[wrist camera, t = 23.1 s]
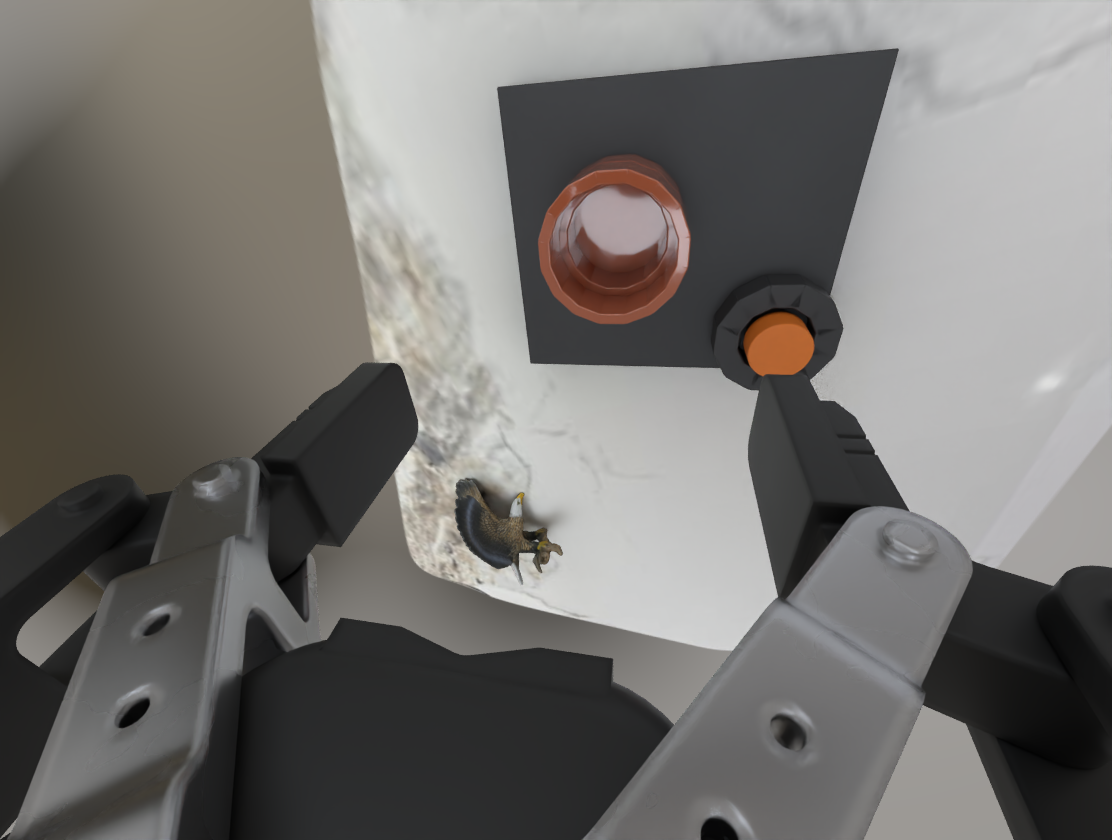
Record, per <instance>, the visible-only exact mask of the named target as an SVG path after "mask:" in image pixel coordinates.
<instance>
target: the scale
mask: <svg viewBox="0 0 1112 840" xmlns="http://www.w3.org/2000/svg"><path fill="white" fill-rule="evenodd" d="M898 51H899V49H887V50H877V51H866V52H856V53H846V54H835V55H825V56H814V57H804V58H794V59H783V60H773V61H763V62H752V63H742V64H732V65H721V66H711V67H701V68H690V69H680V70H669V71H659V72H649V73H638V74H628V75H618V76H607V77H597V78H587V79H576V80H566V81H556V82H545V83H535V84H524V85H514V86H504V87H498V88H497V90H498V98H499V106H500V114H501V123H502V131H503V139H504V147H505V156H506V164H507V172H508V180H509V189H510V197H511V205H512V214H513V222H514V230H515V238H516V247H517V255H518V263H519V271H520V280H521V288H522V296H523V304H524V313H525V321H526V329H527V337H528V346H529V354H530V362H531V363H534V364H575V365H617V366H659V367H701V368H721V370H722V372H723V374H724V375H725V376H726V378H728V379H730V380H732V381H734V382H736V383H737V384H739V385H741V386H743V387H745V388H747V389H750V390H759V389H760V384H761V381H762V378H763V376H761V375H759V374H757V373H756V372H755V371H754V370H753V369H752V368H751V367H750V365H749V363H748V360H747V356H746V353H745V350H744V346H743V341H744V336H745V333H746V331H747V329H748V328H749V327H750V325H751V324H752V323H753V322H754V321H756V320H757V319H758V318H760V317H762V316H764V315H766V314H769V313H773V312H788V313H792V314H794V315H796V316H798V317H799V318H800V319H801V320H802V321H803V322H804V324H805V325H806V327H807V329H808V330H809V332H810V334H811V336H812V338H813V340H814V352H813V355H812V357H811V359H810V361H809V362H808V364H807V365H806V366H805V367H804V368H803V369H801V370H800V371H799V372H797V373H795V374H793V375H806V376H807V377H808V378H809V380H810V379H812V378H813V377H814V376H815V375H816V374H817V373H818V372H819V371H820V370H821V369H822V368H823V367H824V366H825V365H826V364H827V363H828V362H829V361H830V360H832V359H833V358H834V356H835V354H836V351H837V347H838V344H839V341H840V338H841V335H842V331H843V324H842V322H841V319H840V316H839V313H838V311H837V308H836V305H835V303H834V301H833V300H832V298H831V297H830V293H831V289H832V286H833V282H834V279H835V275H836V271H837V268H838V264H839V261H840V257H841V254H842V250H843V246H844V243H845V239H846V236H847V232H848V229H849V225H850V222H851V218H852V214H853V211H854V207H855V204H856V200H857V197H858V193H859V189H860V186H861V182H862V179H863V175H864V172H865V168H866V165H867V161H868V157H869V154H870V150H871V147H872V143H873V140H874V136H875V132H876V129H877V125H878V122H879V118H880V115H881V111H882V108H883V104H884V100H885V97H886V93H887V90H888V86H889V83H890V79H891V75H892V72H893V68H894V65H895V61H896V58H897V54H898ZM628 154H633V155H638V156H640V157H643V158H645V159H647V160H650V161H652V162H655V163H657V164H659V166H661V167H662V168H663V169H664V170H665V171H666V172H667V173H668V174H669V176H670V177H671V178H672V179H673V180H674V181H675V182H676V183H677V186H678V187H679V189H680V192H681V196H682V199H683V202H684V205H685V208H686V212H687V217H688V222H689V228H690V233H691V246H690V257H689V267H688V270H687V272H686V274H685V275H684V277H683V279H682V281H681V283H680V285H679V287H678V289H677V291H676V293H675V294H674V296H673V297H671V298H670V299H669V300H668V301H667V302H666V303H665V304H664V305H662V306H661V307H660V308H659V309H658V310H657V311H656V312H654V313H653V314H651V315H649V316H646V317H644V318H641V319H638V320H636V321H633V322H630V323H628V324H599V323H595V322H593V321H590V320H588V319H585V318H582V317H580V316H577V315H575V314H573V313H572V312H571V311H570V310H569V309H568V308H567V307H565V306H564V305H563V304H562V303H561V302H560V301H559V300H558V299H557V298H556V297H554V295H553V294H552V292H551V290H550V288H549V286H548V284H547V282H546V280H545V278H544V276H543V274H542V272H541V268H540V258H539V247H538V239H539V235H540V232H541V228H542V225H543V222H544V218H545V215H546V212H547V210H548V209H549V207H550V206H551V205H552V204H553V202H554V201H555V200H556V199H557V197H558V196H559V195H560V194H561V192H562V191H563V190H564V189H565V187H566V186H567V185H568V184H569V183H570V182H571V181H572V180H573V179H574V178H575V176H576V175H577V174H578V173H579V172H580V171H581V170H582V169H583V168H585V167H587V166H589V165H590V164H592V163H594V162H596V161H598V160H600V159H602V158H603V157H607V156H612V155H628Z"/></svg>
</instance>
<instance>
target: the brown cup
mask: <svg viewBox="0 0 1112 840" xmlns="http://www.w3.org/2000/svg"><path fill="white" fill-rule="evenodd" d="M690 246H691V233H690V228H689V222H688V217H687V212H686V208H685V205H684V202H683V199H682V196H681V192H680V189H679V187H678V186H677V183H676V182H675V181H674V180H673V179H672V178H671V177H670V176H669V174H668V173H667V172H666V171H665V170H664V169H663V168H662V167H661V166H659V164H657V163H655V162H652V161H650V160H647V159H645V158H643V157H640V156H638V155H633V154H628V155H612V156H607V157H603V158H602V159H600V160H598V161H596V162H594V163H592V164H590V165H589V166H587V167H585V168H583V169H582V170H581V171H580V172H579V173H578V174H577V175H576V176H575V178H574V179H573V180H572V181H571V182H570V183H569V184H568V185H567V186H566V187H565V189H564V190H563V191H562V192H561V194H560V195H559V196H558V197H557V199H556V200H555V201H554V202H553V204H552V205H551V206H550V207H549V209H548V210H547V212H546V215H545V218H544V222H543V225H542V228H541V232H540V235H539V239H538V247H539V258H540V268H541V272H542V274H543V276H544V278H545V280H546V282H547V284H548V286H549V288H550V290H551V292H552V294H553V295H554V297H556V298H557V299H558V300H559V301H560V302H561V303H562V304H563V305H564V306H565V307H567V308H568V309H569V310H570V311H571V312H572V313H573V314H575V315H577V316H580V317H582V318H585V319H588V320H590V321H593V322H595V323H599V324H628V323H630V322H633V321H636V320H638V319H641V318H644V317H646V316H649V315H651V314H653V313H654V312H656V311H657V310H658V309H659V308H660V307H661V306H662V305H664V304H665V303H666V302H667V301H668V300H669V299H670V298H671V297H673V296H674V294H675V293H676V291H677V289H678V287H679V285H680V283H681V281H682V279H683V277H684V275H685V274H686V272H687V270H688V267H689V257H690Z"/></svg>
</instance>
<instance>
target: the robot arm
mask: <svg viewBox="0 0 1112 840" xmlns="http://www.w3.org/2000/svg"><path fill="white" fill-rule="evenodd" d="M417 433H418V419H417V415H416V412H415V408H414V405H413V402H412V399H411V395H410V392H409V389H408V385H407V382H406V379H405V376H404V373H403V370H402V368H401V367H400V366H399V365H398V364H395V363H368V362H367V363H363V364H361V365H360V366H359V367H358V368H357V369H356V370H355V371H354V372H352V373H351V374H350V375H349V376H348V377H347V378H346V379H345V380H344V381H342V383H340V384H339V385H338V386H336V387H334V388H333V389H331V390H329V391H327V392H325V393H324V394H322V395H321V396H320V397H319V398H318V399H317V400H316V401H315V402H314V403H312V404H311V405H310V406H309V410H305V411H304V412H303V413H301V414H300V415H299V416H298V417H297V420H296V421H292V422H291V423H290V424H289V425H288V426H287V427H286V428H285V429H283V430H282V431H281V432H280V433H279V434H278V435H277V436H276V437H275V438H273V440H271V441H270V442H269V443H268V444H267V445H266V446H265V447H263V448H262V450H260V451H259V452H258V453H257V454H256V455H255V456H253V457H252V458H251V459H250V458H246V457H235V458H229V459H224V460H220V461H217V462H215V463H212V464H209V465H207V466H205V467H203V468H201V469H199V470H197V471H195V472H193V473H192V474H190V475H189V476H188V477H186V478H185V479H184V480H182V481H181V482H180V483H179V484H178V485H177V486H176V487H175V489H174V490H173V491H170V492H163V493H157V494H150V495H145V494H144V492H143V491H142V490H141V489H140V487H139V486H138V485H137V484H136V483H135V481H134V480H133V479H132V478H131V477H130V476H127V475H109V476H104V477H100V478H96V479H93V480H90V481H88V482H85V483H82V484H80V485H78V486H76V487H74V488H72V489H70V490H68V491H66V492H64V493H62V494H61V495H59V496H58V497H56V498H55V499H53V500H52V501H50V502H49V503H48V504H46V505H45V506H43V507H42V508H40V509H39V510H38V511H36V512H35V513H33V514H32V515H31V516H29V517H28V518H26V519H25V520H24V521H22V522H21V523H20V524H18V525H17V526H15V527H14V528H12V529H11V530H10V531H8V532H7V533H5V534H4V535H2V536H1V537H0V838H1V836H2V835H3V834H4V833H5V832H6V830H7V829H8V828H9V827H10V826H11V824H12V823H13V822H14V821H15V820H16V819H17V820H16V823H15V825H14V827H13V830H12V832H11V833H9V834H8V835H6V836H5V837H3V838H2V839H0V840H863V839H864V837H865V835H866V832H867V830H868V828H869V826H870V823H871V821H872V819H873V816H874V814H875V812H876V810H877V807H878V806H879V803H880V801H881V799H882V796H883V794H884V792H885V790H886V787H887V785H888V783H889V781H890V778H891V776H892V774H893V772H894V769H895V767H896V765H897V763H898V760H899V758H900V756H901V754H902V751H903V749H904V746H905V745H906V742H907V740H908V738H909V736H910V733H911V731H912V729H913V726H914V724H915V722H916V720H917V717H918V715H919V713H920V710H921V708H922V705H924V706H926V707H928V708H931V709H933V710H935V711H938V712H940V713H942V714H945V715H947V716H949V717H952V718H954V719H956V720H959V721H961V722H963V723H966V725H967V727H968V730H969V732H970V734H971V737H972V739H973V742H974V744H975V747H976V749H977V751H978V754H979V756H980V758H981V761H982V764H983V766H984V768H985V771H986V773H987V776H988V778H989V780H990V783H991V785H992V788H993V790H994V793H995V795H996V798H997V800H998V802H999V805H1000V807H1001V809H1002V812H1003V814H1004V817H1005V819H1006V821H1007V824H1008V827H1009V829H1010V831H1011V834H1012V836H1013V839H1014V840H1112V568H1109V567H1101V566H1081V567H1076V568H1073V569H1071V570H1069V571H1067V572H1066V573H1065V574H1064V575H1063V576H1062V577H1061V578H1060V579H1059V581H1058V582H1057V583H1056V584H1055V585H1054V586H1051V585H1047V584H1044V583H1041V582H1038V581H1034V580H1031V579H1028V578H1024V577H1021V576H1018V575H1015V574H1011V573H1008V572H1005V571H1001V570H998V569H995V568H991V567H988V566H985V565H982V564H980V563H977V562H974V561H972V560H971V558H970V555H969V554H968V552H967V550H966V549H965V547H964V546H963V545H962V544H961V543H960V541H959V540H958V539H957V538H955V537H954V536H953V535H952V534H951V533H950V532H948V531H947V530H946V529H944V528H943V527H942V526H940V525H938V524H937V523H935V522H933V521H931V520H929V519H927V518H925V517H923V516H921V515H918V514H916V513H913V512H910V511H909V509H908V508H907V506H906V504H905V502H904V501H903V499H902V497H901V496H900V494H899V492H898V490H897V489H896V487H895V485H894V483H893V482H892V480H891V478H890V476H889V475H888V473H887V471H886V469H885V468H884V466H883V464H882V463H881V461H880V459H879V457H878V456H877V455H875V450H874V449H873V447H872V445H871V443H870V442H869V440H868V439H866V435H865V433H864V431H863V430H862V428H861V426H860V424H859V423H858V421H857V419H856V417H854V416H853V415H852V414H851V413H849V412H848V411H847V410H845V409H844V408H843V407H841V406H840V405H839V404H837V403H836V402H835V401H820V400H819V398H818V396H817V394H816V392H815V390H814V388H813V386H812V384H811V382H810V380H809V378H808V377H807V376H806V375H780V374H765V375H764V376H763V378H762V381H761V384H760V389H759V393H758V398H757V403H756V408H755V412H754V417H753V422H752V427H751V431H750V436H749V444H748V461H749V467H750V472H751V476H752V481H753V485H754V490H755V494H756V499H757V503H758V508H759V512H760V517H761V521H762V526H763V530H764V535H765V540H766V544H767V549H768V553H769V558H770V562H771V567H772V571H773V576H774V580H775V585H776V589H777V594H778V598H776V599H775V600H774V601H773V602H772V603H771V604H770V605H769V606H768V607H767V608H766V610H765V611H764V612H763V613H762V615H761V616H760V617H759V618H758V620H757V621H756V622H755V623H754V625H753V626H752V627H751V629H750V630H749V631H748V632H747V634H746V635H745V636H744V637H743V639H742V640H741V641H740V642H739V644H738V645H737V646H736V648H735V649H734V650H733V651H732V653H731V654H730V655H729V657H728V658H727V659H726V660H725V662H724V663H723V664H722V665H721V667H720V668H719V669H718V670H717V672H716V673H715V674H714V675H713V677H712V678H711V679H710V680H709V682H708V683H707V684H706V686H705V687H704V688H703V689H702V691H701V692H700V693H699V694H698V696H697V697H696V698H695V699H694V701H693V702H692V703H691V705H690V706H689V707H688V708H687V709H686V711H685V712H684V713H683V715H682V716H681V717H680V718H679V720H678V721H677V722H676V723H675V725H674V724H673V723H672V722H671V721H670V720H669V719H668V718H667V717H666V716H665V715H664V714H663V713H662V712H661V711H659V710H658V709H657V708H655V707H654V706H653V705H652V704H651V703H649V702H648V701H647V700H646V699H644V698H642V697H641V696H639V695H638V694H636V693H634V692H633V691H631V690H630V689H628V688H625V687H623V686H621V685H619V684H617V683H615V682H613V659H612V658H605V657H598V656H592V655H585V654H579V653H572V652H565V651H558V650H552V649H545V648H532V649H523V650H514V651H505V652H497V653H487V654H478V655H459V654H456V653H454V652H452V651H450V650H448V649H446V648H444V647H442V646H440V645H438V644H436V643H433V642H431V641H429V640H427V639H425V638H423V637H421V636H419V635H417V634H415V633H413V632H411V631H409V630H407V629H405V628H403V627H400V626H393V625H386V624H379V623H373V622H366V621H360V620H353V619H346V618H340V620H339V621H338V623H337V625H336V626H335V628H334V630H333V631H332V633H331V635H330V636H329V638H328V639H327V640H323V641H321V636H320V629H319V613H318V599H317V583H316V569H315V561H314V559H313V557H312V555H311V554H310V551H311V550H312V549H313V547H314V546H315V545H316V544H319V545H328V546H337V547H341V546H342V545H343V543H344V542H345V541H346V539H347V538H348V536H349V535H350V533H351V532H352V531H353V529H354V528H355V526H356V525H357V523H358V522H359V521H360V519H361V518H362V516H363V515H364V514H365V512H366V511H367V509H368V508H369V506H370V505H371V504H372V502H373V501H374V499H375V498H376V496H377V495H378V494H379V492H380V491H381V489H382V488H383V486H384V485H385V484H386V482H387V481H388V479H389V478H390V476H391V475H392V474H393V472H394V471H395V469H396V468H397V467H398V465H399V464H400V462H401V461H402V459H403V458H404V457H405V455H406V454H407V452H408V451H409V449H410V448H411V447H412V445H413V444H414V442H415V440H416V437H417ZM82 571H83V572H85V573H86V574H87V575H88V576H89V577H90V578H91V579H92V580H93V581H94V582H95V583H96V584H97V585H98V586H100V587H101V588H102V589H103V590H104V591H105V592H104V595H103V597H102V600H101V602H100V605H99V608H98V610H97V611H96V612H95V613H94V614H93V615H92V616H91V617H90V618H89V619H88V620H87V621H86V622H85V623H84V624H82V626H80V627H79V628H78V629H77V630H76V631H75V632H74V633H73V634H72V635H71V636H70V637H69V638H68V639H67V640H66V641H65V642H64V643H63V644H62V645H61V646H60V647H59V648H58V649H57V650H56V651H55V652H54V653H53V654H52V655H51V656H50V657H49V658H48V659H47V660H46V661H45V662H44V663H43V664H42V665H41V666H40V667H38V666H36V665H35V664H34V663H32V662H31V661H29V660H28V659H26V658H25V657H23V656H22V655H21V654H20V653H19V652H18V650H17V647H16V639H17V635H18V633H19V631H20V629H21V628H22V626H23V625H24V624H25V622H26V621H27V620H28V619H29V618H30V617H31V616H32V615H33V614H35V613H36V612H37V611H38V610H39V609H40V608H41V607H43V606H44V605H45V604H46V603H47V602H48V601H50V600H51V599H52V598H53V597H54V596H55V595H56V594H57V593H59V592H60V591H61V590H62V589H63V588H64V587H65V586H66V585H68V584H69V583H70V582H71V581H72V580H73V579H75V577H77V576H78V575H79V574H80V573H81V572H82ZM17 817H18V818H17Z"/></svg>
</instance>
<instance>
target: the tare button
mask: <svg viewBox="0 0 1112 840" xmlns="http://www.w3.org/2000/svg"><path fill="white" fill-rule="evenodd" d="M743 346H744V350H745V353H746V356H747V360H748V363H749V365H750V367H751V368H752V369H753V370H754V371H755V372H756V373H757V374H759V375H761V376H764V375H765V374H780V375H793V374H795V373H797V372H799V371H800V370H801V369H803V368H804V367H805V366H806V365H807V364H808V362H809V361H810V359H811V357H812V355H813V352H814V340H813V338H812V336H811V334H810V332H809V330H808V329H807V327H806V325H805V324H804V322H803V321H802V320H801V319H800V318H799V317H798V316H796V315H794V314H792V313H788V312H773V313H769V314H766V315H764V316H762V317H760V318H758V319H757V320H756V321H754V322H753V323H752V324H751V325H750V327H749V328H748V329H747V331H746V333H745V336H744V341H743Z"/></svg>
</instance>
